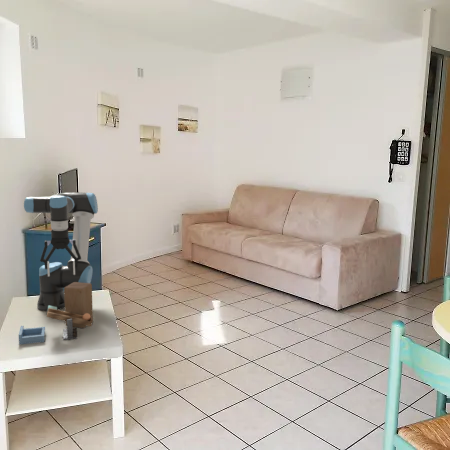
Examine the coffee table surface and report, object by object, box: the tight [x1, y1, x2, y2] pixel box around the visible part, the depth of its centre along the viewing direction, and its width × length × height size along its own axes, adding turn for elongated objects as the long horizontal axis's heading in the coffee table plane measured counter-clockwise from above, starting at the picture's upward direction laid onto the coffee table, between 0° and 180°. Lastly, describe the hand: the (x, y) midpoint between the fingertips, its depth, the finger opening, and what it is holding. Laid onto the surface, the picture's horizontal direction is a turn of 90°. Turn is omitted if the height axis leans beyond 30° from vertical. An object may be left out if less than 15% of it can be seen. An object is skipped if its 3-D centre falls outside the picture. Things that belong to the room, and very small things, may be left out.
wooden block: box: [63, 282, 94, 329], centre depth 231 cm, size 10×10×20 cm
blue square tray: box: [18, 325, 46, 346], centre depth 215 cm, size 10×10×4 cm
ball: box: [83, 313, 91, 321], centre depth 221 cm, size 4×4×4 cm
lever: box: [46, 305, 94, 327], centre depth 222 cm, size 20×13×4 cm, turn 108°
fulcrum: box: [62, 312, 78, 341], centre depth 220 cm, size 6×11×9 cm, turn 18°
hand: (61, 274), depth 225 cm, fingers open, 11 cm apart
